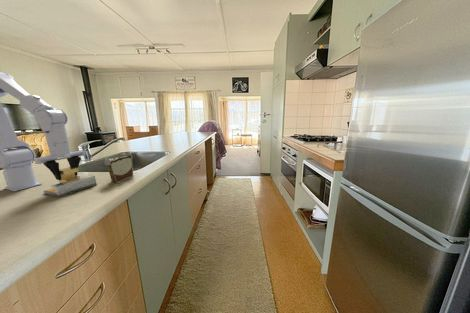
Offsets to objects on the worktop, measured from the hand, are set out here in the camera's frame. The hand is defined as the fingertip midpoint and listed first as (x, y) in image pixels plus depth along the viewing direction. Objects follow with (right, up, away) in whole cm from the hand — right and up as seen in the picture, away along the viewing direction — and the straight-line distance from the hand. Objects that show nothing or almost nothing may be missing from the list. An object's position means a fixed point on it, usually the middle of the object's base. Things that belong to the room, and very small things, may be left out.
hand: (67, 177), depth 71 cm
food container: (+15, -2, +9) cm, 17 cm away
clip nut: (+1, -1, 0) cm, 2 cm away
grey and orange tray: (+3, -4, -1) cm, 5 cm away
